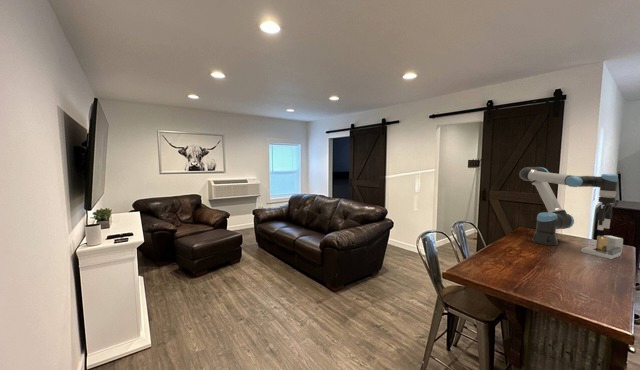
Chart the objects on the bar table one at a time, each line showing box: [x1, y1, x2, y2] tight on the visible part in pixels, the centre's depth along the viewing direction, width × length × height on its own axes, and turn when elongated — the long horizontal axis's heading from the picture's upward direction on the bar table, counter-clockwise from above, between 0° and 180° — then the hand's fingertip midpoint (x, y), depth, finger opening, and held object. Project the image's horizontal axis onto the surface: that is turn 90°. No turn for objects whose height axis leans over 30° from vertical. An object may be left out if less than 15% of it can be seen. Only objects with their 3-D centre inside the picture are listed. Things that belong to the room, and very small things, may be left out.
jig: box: [580, 245, 622, 260], centre depth 180 cm, size 15×15×6 cm
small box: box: [603, 235, 624, 254], centre depth 185 cm, size 8×6×10 cm
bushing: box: [595, 235, 608, 252], centre depth 180 cm, size 5×5×12 cm
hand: (603, 229), depth 179 cm, fingers open, 9 cm apart
